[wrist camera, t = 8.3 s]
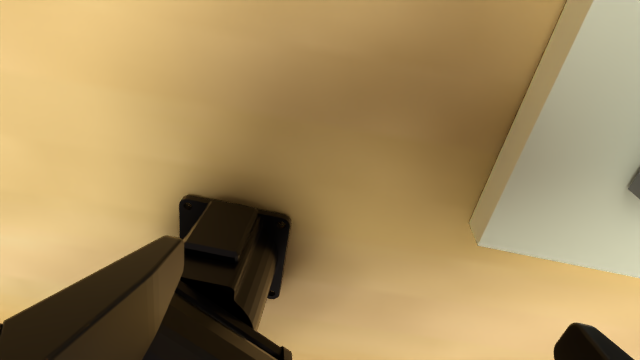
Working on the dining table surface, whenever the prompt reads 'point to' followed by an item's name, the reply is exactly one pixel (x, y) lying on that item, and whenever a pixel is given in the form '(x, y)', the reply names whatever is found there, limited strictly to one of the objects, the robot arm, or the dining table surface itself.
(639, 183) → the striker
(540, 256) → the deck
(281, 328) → the dining table surface
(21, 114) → the dining table surface
